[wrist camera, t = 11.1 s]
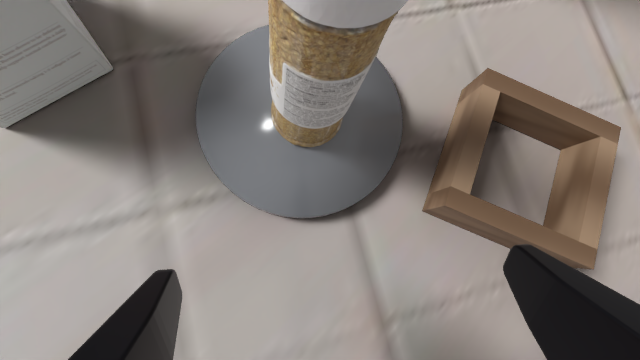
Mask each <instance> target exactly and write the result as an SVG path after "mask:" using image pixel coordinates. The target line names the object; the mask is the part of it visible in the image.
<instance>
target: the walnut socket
mask: <svg viewBox="0 0 640 360" xmlns="http://www.w3.org/2000/svg"><path fill="white" fill-rule="evenodd" d="M492 120H494V121H496V122H499V123H501V124H503V125H505V126H508V127H510V128H512V129H515V130H517V131H519V132H521V133H524V134H526V135H528V136H530V137H533V138H535V139H537V140H540V141H542V142H544V143H546V144H549V145H551V146H553V147H555V148H558V149H560V150H561V152H560V156H559V160H558V164H557V169H556V173H555V177H554V181H553V186H552V190H551V194H550V198H549V202H548V207H547V211H546V215H545V219H544V224H543V226H542V225H540V224H537V223H535V222H533V221H530V220H528V219H526V218H523V217H521V216H519V215H516V214H514V213H512V212H509V211H507V210H505V209H502V208H500V207H498V206H496V205H493V204H491V203H489V202H486V201H484V200H482V199H479V198H477V197H475V196H472V195H470V192H471V189H472V185H473V182H474V179H475V175H476V172H477V169H478V165H479V162H480V159H481V155H482V152H483V149H484V145H485V142H486V138H487V135H488V132H489V128H490V125H491V122H492ZM620 130H621V127H619V126H617V125H614V124H612V123H610V122H608V121H605V120H603V119H601V118H599V117H596V116H594V115H592V114H590V113H587V112H585V111H583V110H581V109H579V108H576V107H574V106H572V105H570V104H567V103H565V102H563V101H561V100H558V99H556V98H554V97H552V96H549V95H547V94H545V93H543V92H540V91H538V90H536V89H534V88H532V87H529V86H527V85H525V84H523V83H520V82H518V81H516V80H514V79H511V78H509V77H507V76H505V75H502V74H500V73H498V72H496V71H493V70H491V69H489V68H487V69H486V70H485V71H484V72H483V73H482V74H480V75H479V76H478V77H477V78H476V79H474V80H473V81H472V82H471V83H470V84H469V85H467V86H466V87H465V88H464V89H463V90H462V92H461V95H460V98H459V101H458V104H457V107H456V110H455V113H454V116H453V119H452V122H451V125H450V128H449V131H448V134H447V137H446V140H445V143H444V146H443V149H442V152H441V156H440V159H439V162H438V165H437V168H436V171H435V174H434V177H433V180H432V183H431V186H430V189H429V192H428V195H427V198H426V201H425V204H424V207H423V210H422V211H423V212H426V213H428V214H430V215H433V216H435V217H437V218H440V219H442V220H445V221H447V222H449V223H452V224H454V225H456V226H459V227H461V228H463V229H466V230H468V231H470V232H473V233H475V234H477V235H480V236H482V237H484V238H487V239H489V240H491V241H494V242H496V243H498V244H501V245H503V246H505V247H508V248H510V249H511V248H512V247H513V246H514V245H519V244H530V245H532V246H534V247H536V248H538V249H540V250H541V251H543V252H545V253H547V254H549V255H550V256H552V257H554V258H556V259H558V260H559V261H561V262H563V263H565V264H567V265H569V266H570V267H572V268H584V269H594V264H595V259H596V254H597V249H598V244H599V239H600V233H601V228H602V223H603V218H604V213H605V207H606V202H607V197H608V192H609V187H610V182H611V176H612V171H613V166H614V161H615V156H616V151H617V145H618V140H619V135H620Z"/></svg>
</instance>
